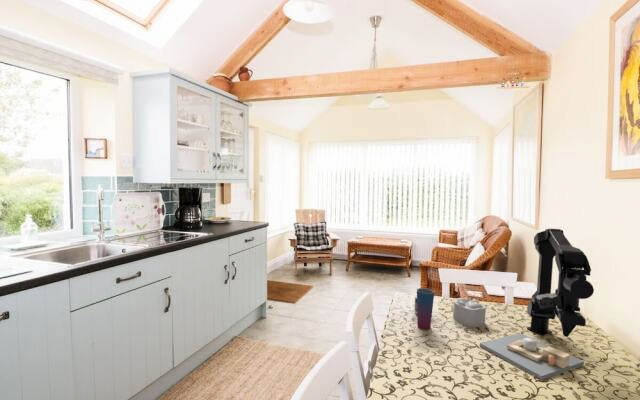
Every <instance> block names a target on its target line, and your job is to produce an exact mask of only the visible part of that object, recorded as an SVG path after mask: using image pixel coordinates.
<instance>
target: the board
mask: <svg viewBox="0 0 640 400" xmlns="http://www.w3.org/2000/svg"><path fill="white" fill-rule="evenodd" d="M520 339H523V349H526V350H528V351H530V352H533V353H535V352H537V345H540V346H542V347H545V348H547V347H552V346H550V345H548V344H546V343H544V342H541V341H539V340H538V339H537V340H536V339H534V338H532V337H530V336H528V335H525V334H523V333H522V332H521V333H520V332H519V333H515V334H510V335H506V336H503V337H498V338H495V339H491V340H487V341H482V342H479V347H480V348H482V349H484V350H486V351H488V352H490V353H491V354H493V355H495V356H497V357H499V358H501V359H502V360H505V362H508V363H509V364H512V365H513V366H515V367H517V368H519V369H521V370H523V371H524V372H527V373H528V374H530V375H532V376H534V377H535V378H537V379H539V380H541V381H542V380H545V379H547V378H551V377H553V376H557V375H559V374H562V373H565V372H568V371H571V370H573V369H576V368H579V367H583V366H584V365H585V361H584V360H581V359H579V358H577V357H575V356H573V355H571V354H570V358H569V365H568V366H567V367H565V368H561V367H558V366H556V365H554V367H552V366H549V365H548V362H547V361H545V360H540V361H538V362H537V361H535V360H532V359H530V358H528V357H525V356H523V355H521V354H519V353H516V352H514V351H512V350H510V349H507V345H508V344H511V343H513V342H515V341H518V340H520ZM552 348H554V349H556V348H555V347H554V346H553V347H552Z"/></svg>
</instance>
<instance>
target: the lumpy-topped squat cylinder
mask: <svg viewBox="0 0 640 400" xmlns="http://www.w3.org/2000/svg"><path fill="white" fill-rule="evenodd" d="M486 310H487V309H486V306H485V305H484V304H481V303H480V302H479V300H478V299H475V298H474V299H469V298H467V297H463V298H461V297H459V298H455V299H453V310H452V318H453V319H454V320H455V321H457V322H458V323H460V324H462V325H463V326H467V327H470V328H472V327H473V328H475V327H479V326H480V327H481V326H485V324H486V312H487V311H486Z"/></svg>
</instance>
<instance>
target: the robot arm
mask: <svg viewBox="0 0 640 400" xmlns="http://www.w3.org/2000/svg"><path fill="white" fill-rule="evenodd" d="M533 244H534V249H535V250H536V252H537V253H538V255H539V256H538V269H537V284H536V291H535V292H534V293H533V294H532V295H531V300H530V301H529V303H528V305H527V307H526V310H527V311H526V312H527V314H528V315H529V317H531V319H530V326H527V327H526V329H527V330H529V331H531V332H534V333H536V334H538V335H541V336H546V335H548V334H552V333H553V331H552V330H550V329H549V327H550V320H556V317H557V319H558V320H559V322H560V325H561V331H562V335H563V337H565V338H566V337H567V338H568V337H569V336H570V334H571V333H572V332H573V331H574V329H575V328H576V327H577V326H580V327H586V322H587V320H586V318H585V317H584V315H583V314H582V313H580V312H581V308H580V300H585V299H589V298H591V297H592V296H593V295H594V291H595V289H594V286H593V284H592V283H591V282H590V281H588V280H587V276H591V271H592V268H591V265H590V261H589V259H588V257H587V254H585V253H584V251H582V249H580V248H577V247H576V246H575V247H574V246H573V245H572V244H571V243H570V241H569V240H568V239H567V237H566V236H565V234H564V230H563V229H560V228H546V229H545V230H543V231H539V232H537V233H536V234H535V235H534V237H533ZM554 261H555V264H556V267H557V270H558V278H557V280H558V281H557V288H556V289H555V292H554V293H552V280H553V269H554V267H553V265H554Z"/></svg>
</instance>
